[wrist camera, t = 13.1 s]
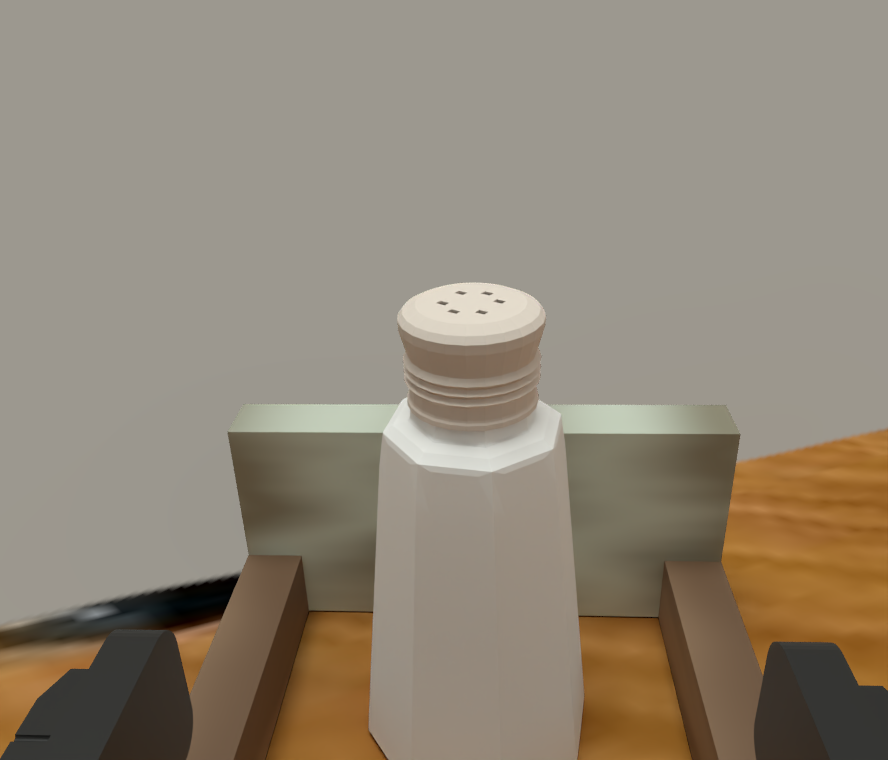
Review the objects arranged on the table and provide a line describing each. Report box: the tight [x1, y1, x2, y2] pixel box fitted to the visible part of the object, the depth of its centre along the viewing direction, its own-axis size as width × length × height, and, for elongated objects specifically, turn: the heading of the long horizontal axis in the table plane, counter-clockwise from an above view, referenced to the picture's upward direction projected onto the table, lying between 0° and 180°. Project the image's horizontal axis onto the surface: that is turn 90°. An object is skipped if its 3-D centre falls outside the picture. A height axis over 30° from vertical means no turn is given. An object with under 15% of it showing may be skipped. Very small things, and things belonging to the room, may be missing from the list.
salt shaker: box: [368, 283, 584, 760], centre depth 18 cm, size 5×5×11 cm
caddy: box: [186, 404, 763, 760], centre depth 16 cm, size 13×16×6 cm
